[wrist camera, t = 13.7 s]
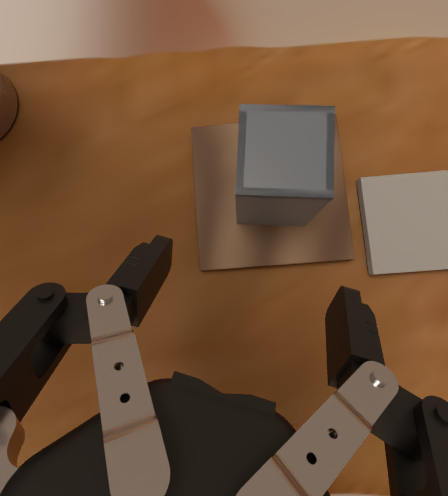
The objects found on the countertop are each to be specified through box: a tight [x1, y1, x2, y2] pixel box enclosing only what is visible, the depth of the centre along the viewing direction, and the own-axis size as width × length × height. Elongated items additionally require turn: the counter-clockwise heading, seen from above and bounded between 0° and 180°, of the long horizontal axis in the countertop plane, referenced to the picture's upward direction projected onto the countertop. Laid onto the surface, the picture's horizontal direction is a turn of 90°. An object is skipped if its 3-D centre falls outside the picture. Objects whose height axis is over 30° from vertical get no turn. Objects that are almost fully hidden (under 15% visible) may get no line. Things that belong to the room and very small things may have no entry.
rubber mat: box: [356, 170, 448, 275], centre depth 28 cm, size 9×9×1 cm
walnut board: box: [191, 114, 354, 271], centre depth 29 cm, size 14×14×1 cm
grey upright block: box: [235, 104, 335, 226], centre depth 24 cm, size 6×6×9 cm
